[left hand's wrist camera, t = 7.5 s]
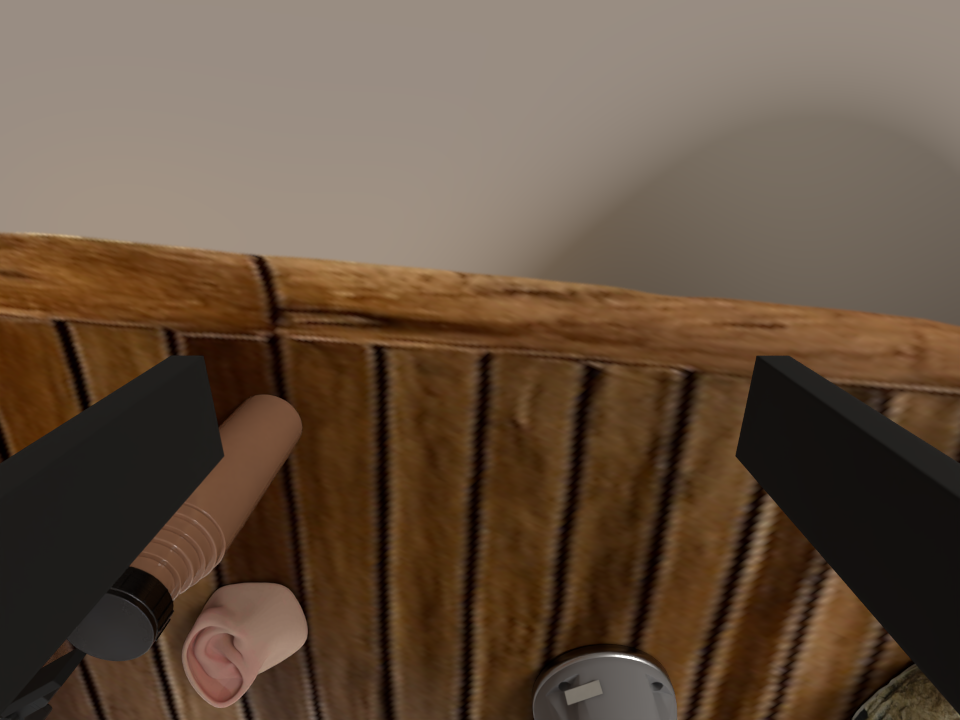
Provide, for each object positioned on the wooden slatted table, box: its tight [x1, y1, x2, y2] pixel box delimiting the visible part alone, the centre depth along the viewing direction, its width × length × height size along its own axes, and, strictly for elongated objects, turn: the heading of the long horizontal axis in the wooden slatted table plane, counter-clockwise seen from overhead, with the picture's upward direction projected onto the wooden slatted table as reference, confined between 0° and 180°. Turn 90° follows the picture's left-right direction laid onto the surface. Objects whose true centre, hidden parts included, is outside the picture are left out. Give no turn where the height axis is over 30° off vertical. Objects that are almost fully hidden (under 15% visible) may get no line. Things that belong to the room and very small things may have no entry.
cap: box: [67, 566, 174, 661], centre depth 26 cm, size 5×5×2 cm
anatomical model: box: [182, 583, 308, 708], centre depth 51 cm, size 13×4×12 cm
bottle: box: [130, 395, 302, 600], centre depth 35 cm, size 6×6×20 cm
